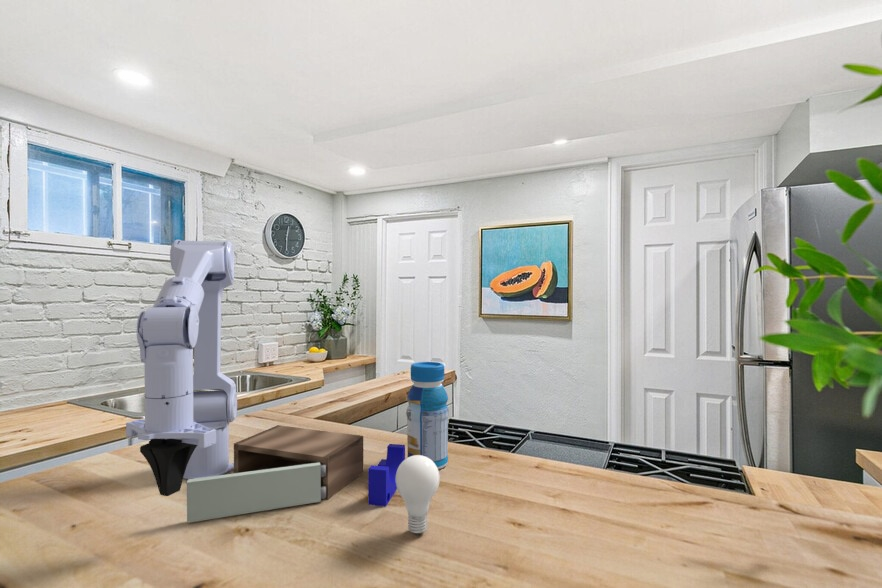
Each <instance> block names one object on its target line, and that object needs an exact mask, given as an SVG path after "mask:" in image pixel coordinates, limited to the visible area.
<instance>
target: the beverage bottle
mask: <svg viewBox="0 0 882 588" xmlns="http://www.w3.org/2000/svg"><path fill="white" fill-rule="evenodd" d="M410 381H411V382H412V383H413V384H412V385H411V387H410V389H409V391H408V393H407V396H406V400H407V403H408V405H407V408H406V413H405V414H406V421H407V422H406V423H407V424H406V425H407V426H406V427H407V428H406V429H407V430H406V431H407V433H406V435H407V455H406V458H408V457H410V456H413V455H423V456H426V457H428V458H430V459H431V460H432V461H433V462H434V463H435V464H436V466H437V468H438V470H441V469H443V468H445V467H446V466H448V463H449V451H448V450H449V449H448V448H449V442H448V441H449V440H448V439H449V435H448V434H449V432H448V431H449V429H448V428H449V416H450V415H449V414H450V410H449V407H448V404H447V403H448V401H449V395H448V392H447V390H446V388H445V387H444V385H443V382H444V381H445V365H444V363H442V362H436V361H420V362H419V361H418V362H413V363H412V364H411V365H410Z"/></svg>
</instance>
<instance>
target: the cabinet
mask: <svg viewBox="0 0 882 588" xmlns="http://www.w3.org/2000/svg"><path fill="white" fill-rule="evenodd" d="M319 462H320V465H322V464H324V465H326V476H324V477H321V486H326V498H324V499H323V500H329V499H331V498H332V497H334V496H335V495H336V494H337V493H339V492H340V491H342V490H343V489H344V488H345V487H347V486H348V485H349V484H350V483H352V482H353V481H354V480H356V479H357V478H359V477H360V476H361V475H363V473H364V472H365V471H364V435H360V434H350V433H343V432H342V433H341V432H335V431H327V430H326V431H325V430H320V429H319V430H317V429H310V428H303V427H295V426H288V425H280V424H278V425H274V426H272V427H271V428H268V429H265V430H263V431H260V432H257V433H256V434H254V435H251V436H249V437H247V438H244V439H242V440H240V441H239V440H238V441H236V442H235V443H233V463H234V470H233V474H234V473H242V472H249V471H257V470H265V469H272V468H280V467H288V466H295V465H303V464H311V463H319Z"/></svg>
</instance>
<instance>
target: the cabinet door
mask: <svg viewBox="0 0 882 588" xmlns="http://www.w3.org/2000/svg"><path fill="white" fill-rule="evenodd" d="M324 476H326V465H324V464H322V465H320V462H319V463H311V464H303V465H295V466H288V467H280V468H272V469H265V470H257V471H249V472H242V473H234V472H233V473H226V474H224V475H219V476H211V477H203V478H195V479H187V481H186V523H187V524H188V523H193V522H194V523H195V522H200V521H207V520H212V519H220V518H225V517H226V518H227V517H232V516H238V515H246V514H251V513H258V512H265V511H269V510H270V511H271V510H276V509H277V510H278V509H283V508H288V507H295V506H301V505H308V504H313V503H321V501H322V500H325V499H324V498H326V486H321V477H324Z"/></svg>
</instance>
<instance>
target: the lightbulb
mask: <svg viewBox="0 0 882 588" xmlns="http://www.w3.org/2000/svg"><path fill="white" fill-rule="evenodd" d="M440 481H441V477H440V471H439V469H438V468H437V466H436V464H435V463H434V462H433V461H432V460H431V459H430V458H428V457H426V456H423V455H413V456H410V457H408V458H407V457H405V460H404V461H403V462H402V463H401V464H400V465H399V467H398V469H397V472H396V476H395V482H396V487H397V490H396V491H398V493H399V496H400V497H401V498H402V499H403V501H404V503H405V509H406V511H407V514H408V522H407V523H408V526H407V527H408V531H409V532H410V533H412V534H414V535H420V534H423V533H424V532H426V531H427V529H428V511H429V509H430V503H431V501H432V499H433V497H434V496H435V494H436V493H437V491H438V489H439V485H440Z"/></svg>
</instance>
